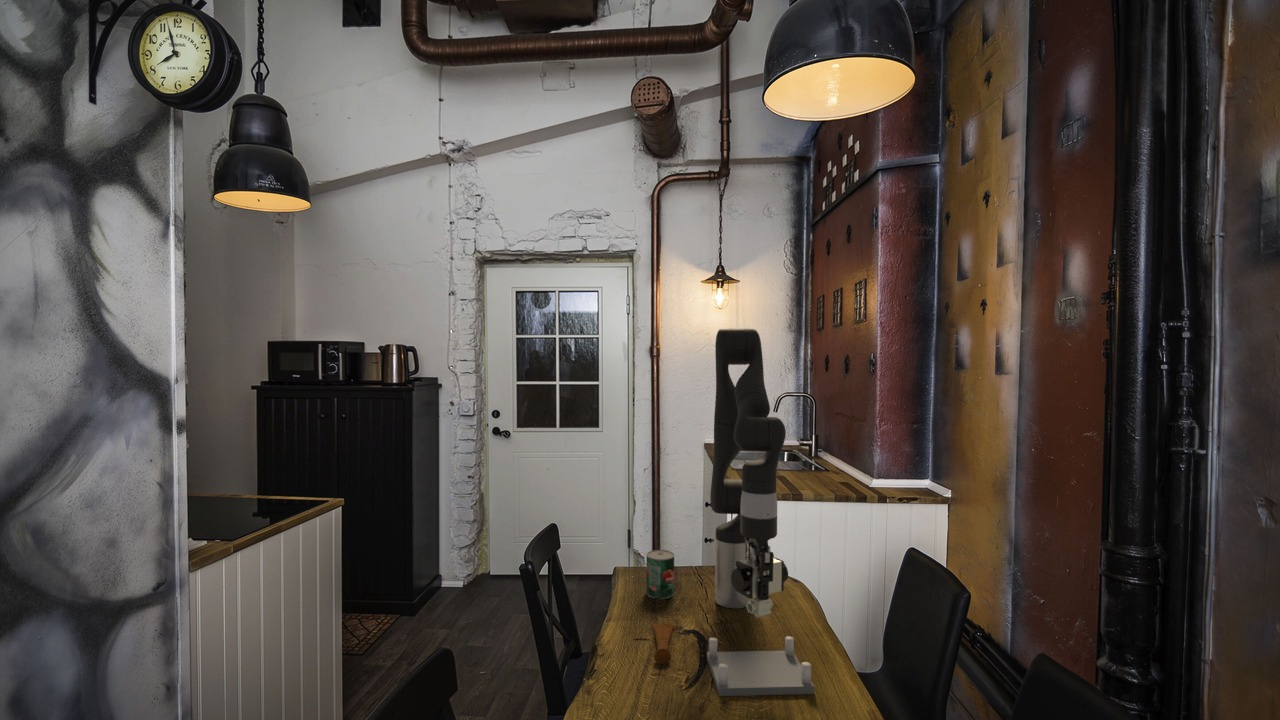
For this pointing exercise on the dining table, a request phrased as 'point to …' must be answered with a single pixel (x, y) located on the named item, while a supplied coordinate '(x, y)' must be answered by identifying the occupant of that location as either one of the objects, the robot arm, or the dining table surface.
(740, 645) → the dining table surface
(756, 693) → the peg board
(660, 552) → the canned tomato
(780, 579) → the pneumatic valve
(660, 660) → the primitive tool
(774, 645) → the dining table surface
